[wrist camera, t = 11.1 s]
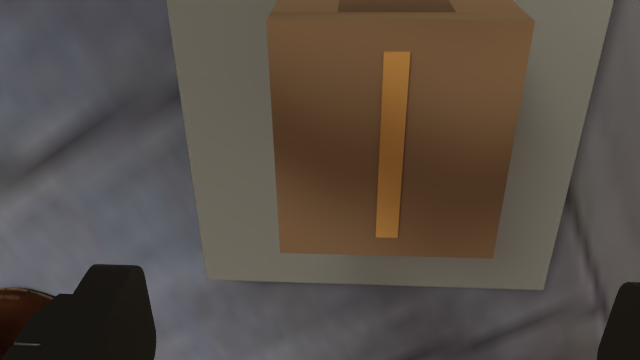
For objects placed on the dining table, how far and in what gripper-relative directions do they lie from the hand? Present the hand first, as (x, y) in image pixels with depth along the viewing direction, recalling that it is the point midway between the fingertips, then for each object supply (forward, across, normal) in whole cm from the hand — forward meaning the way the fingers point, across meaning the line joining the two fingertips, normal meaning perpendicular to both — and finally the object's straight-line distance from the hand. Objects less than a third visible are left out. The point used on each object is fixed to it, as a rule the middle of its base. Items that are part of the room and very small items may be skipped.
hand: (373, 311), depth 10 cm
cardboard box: (+11, -1, 0) cm, 11 cm away
